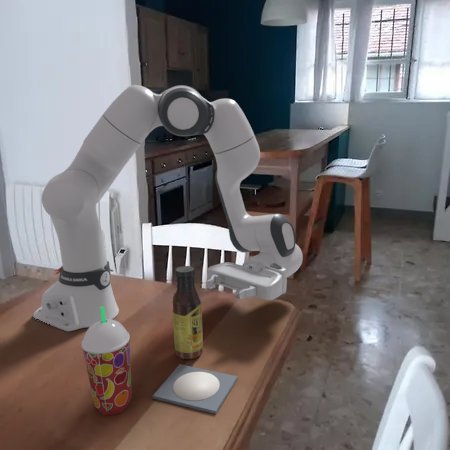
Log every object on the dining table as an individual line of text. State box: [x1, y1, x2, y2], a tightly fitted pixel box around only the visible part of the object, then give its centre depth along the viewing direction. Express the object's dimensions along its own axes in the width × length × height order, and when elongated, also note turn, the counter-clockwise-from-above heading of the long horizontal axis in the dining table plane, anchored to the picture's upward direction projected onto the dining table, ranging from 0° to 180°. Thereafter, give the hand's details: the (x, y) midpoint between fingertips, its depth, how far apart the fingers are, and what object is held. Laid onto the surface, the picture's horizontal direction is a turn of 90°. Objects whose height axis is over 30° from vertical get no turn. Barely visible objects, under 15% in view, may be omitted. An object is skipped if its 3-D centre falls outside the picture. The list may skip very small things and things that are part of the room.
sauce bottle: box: [172, 265, 204, 360], centre depth 96 cm, size 7×6×20 cm
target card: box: [152, 364, 239, 415], centre depth 86 cm, size 13×11×1 cm
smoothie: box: [80, 306, 132, 416], centre depth 80 cm, size 8×8×20 cm
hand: (222, 290), depth 104 cm, fingers open, 8 cm apart
